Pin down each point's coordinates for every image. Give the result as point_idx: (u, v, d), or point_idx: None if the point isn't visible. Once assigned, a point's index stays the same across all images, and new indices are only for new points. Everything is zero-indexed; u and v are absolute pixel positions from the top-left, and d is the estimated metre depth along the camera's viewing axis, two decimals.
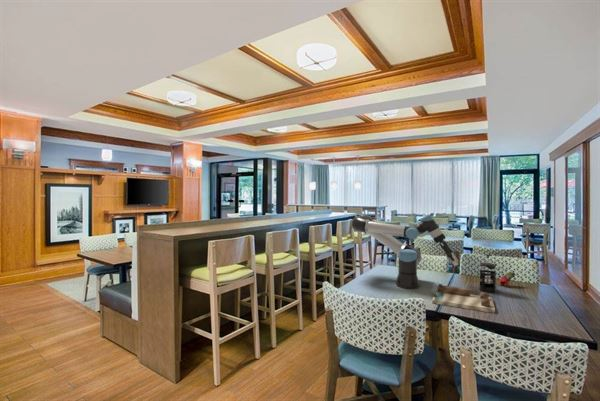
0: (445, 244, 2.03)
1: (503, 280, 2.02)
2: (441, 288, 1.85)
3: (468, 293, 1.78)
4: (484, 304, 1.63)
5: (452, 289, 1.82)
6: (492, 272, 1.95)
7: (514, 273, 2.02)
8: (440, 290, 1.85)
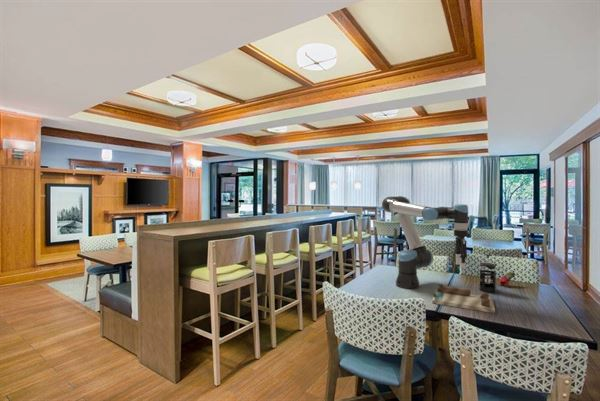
0: None
1: (503, 280, 2.02)
2: (441, 288, 1.85)
3: (468, 293, 1.78)
4: (484, 304, 1.63)
5: (452, 289, 1.82)
6: (492, 272, 1.95)
7: (514, 273, 2.02)
8: (440, 290, 1.85)
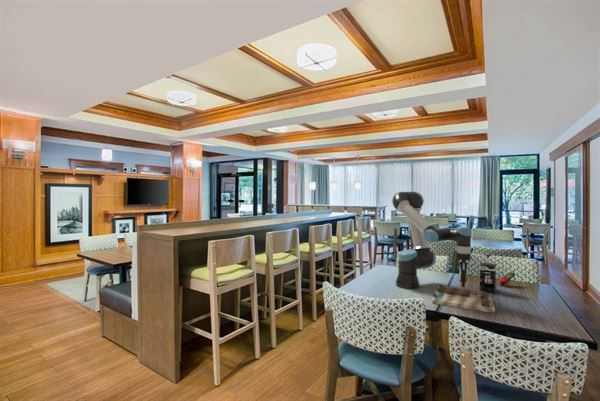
0: (465, 266, 1.79)
1: (503, 280, 2.02)
2: (441, 288, 1.85)
3: (468, 294, 1.77)
4: (484, 304, 1.63)
5: (452, 289, 1.82)
6: (492, 272, 1.95)
7: (514, 273, 2.02)
8: (440, 290, 1.85)
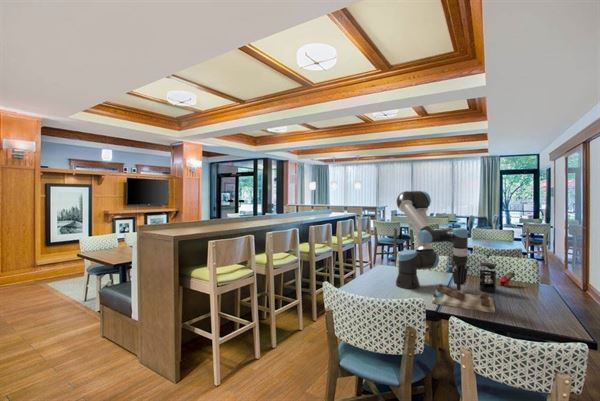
0: (460, 269, 1.73)
1: (503, 280, 2.02)
2: (439, 288, 1.85)
3: (459, 297, 1.72)
4: (484, 304, 1.63)
5: (447, 290, 1.80)
6: (492, 272, 1.95)
7: (514, 273, 2.02)
8: (438, 290, 1.86)
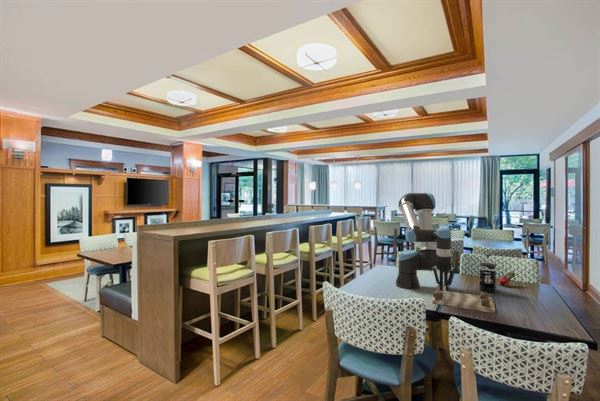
0: (440, 269, 1.73)
1: (503, 280, 2.02)
2: None
3: (435, 295, 1.74)
4: (484, 304, 1.63)
5: None
6: (492, 272, 1.95)
7: (514, 273, 2.02)
8: None
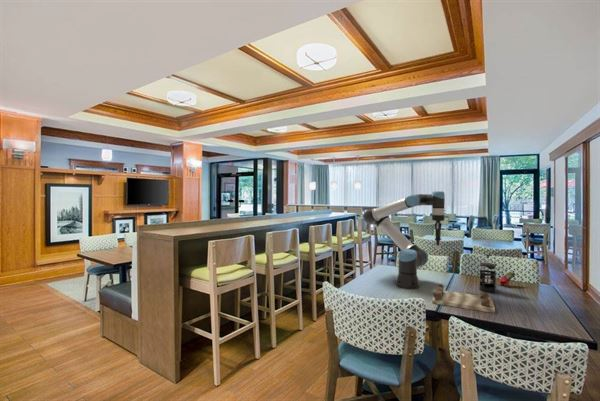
0: (439, 226, 2.00)
1: (503, 280, 2.02)
2: None
3: (435, 295, 1.74)
4: (484, 304, 1.63)
5: None
6: (492, 272, 1.95)
7: (514, 273, 2.02)
8: None
